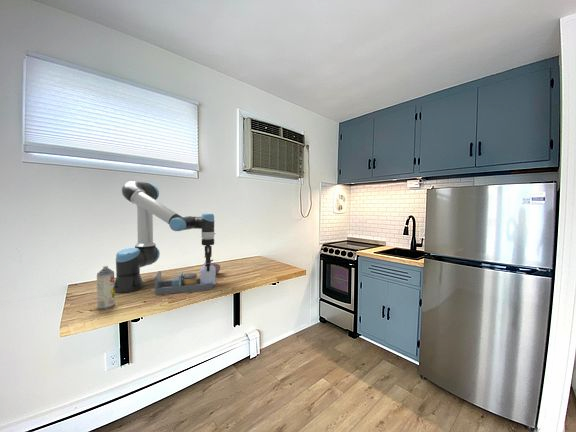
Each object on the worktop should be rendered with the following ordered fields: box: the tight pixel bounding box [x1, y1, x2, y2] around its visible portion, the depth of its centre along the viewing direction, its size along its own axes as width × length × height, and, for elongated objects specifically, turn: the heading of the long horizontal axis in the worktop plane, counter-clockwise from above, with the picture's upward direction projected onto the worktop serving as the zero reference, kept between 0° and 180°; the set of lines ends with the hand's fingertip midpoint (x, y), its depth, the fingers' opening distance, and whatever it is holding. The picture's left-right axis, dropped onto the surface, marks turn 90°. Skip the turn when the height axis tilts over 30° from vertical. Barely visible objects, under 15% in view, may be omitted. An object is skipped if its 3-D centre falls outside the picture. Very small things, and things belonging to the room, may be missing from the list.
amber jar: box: [182, 272, 198, 286], centre depth 142 cm, size 8×8×8 cm
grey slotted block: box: [154, 270, 214, 296], centre depth 142 cm, size 31×13×10 cm, turn 110°
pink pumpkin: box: [202, 259, 221, 275], centre depth 168 cm, size 12×12×12 cm
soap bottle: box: [199, 245, 217, 286], centre depth 146 cm, size 9×9×25 cm
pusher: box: [171, 270, 183, 287], centre depth 140 cm, size 5×10×9 cm, turn 20°
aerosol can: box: [96, 265, 116, 310], centre depth 115 cm, size 7×7×20 cm
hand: (208, 274), depth 146 cm, fingers closed on soap bottle, 9 cm apart
